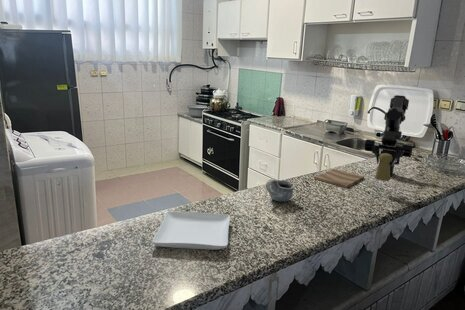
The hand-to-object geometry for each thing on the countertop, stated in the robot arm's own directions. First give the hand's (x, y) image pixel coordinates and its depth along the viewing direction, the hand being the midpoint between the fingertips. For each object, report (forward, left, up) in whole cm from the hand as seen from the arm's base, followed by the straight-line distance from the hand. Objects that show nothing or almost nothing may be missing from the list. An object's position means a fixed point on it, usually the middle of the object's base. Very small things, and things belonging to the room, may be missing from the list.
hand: (384, 164), depth 144 cm
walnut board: (-6, -21, -13) cm, 25 cm away
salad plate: (+82, -27, -14) cm, 88 cm away
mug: (+40, -25, -13) cm, 49 cm away
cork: (-1, 0, -7) cm, 7 cm away
